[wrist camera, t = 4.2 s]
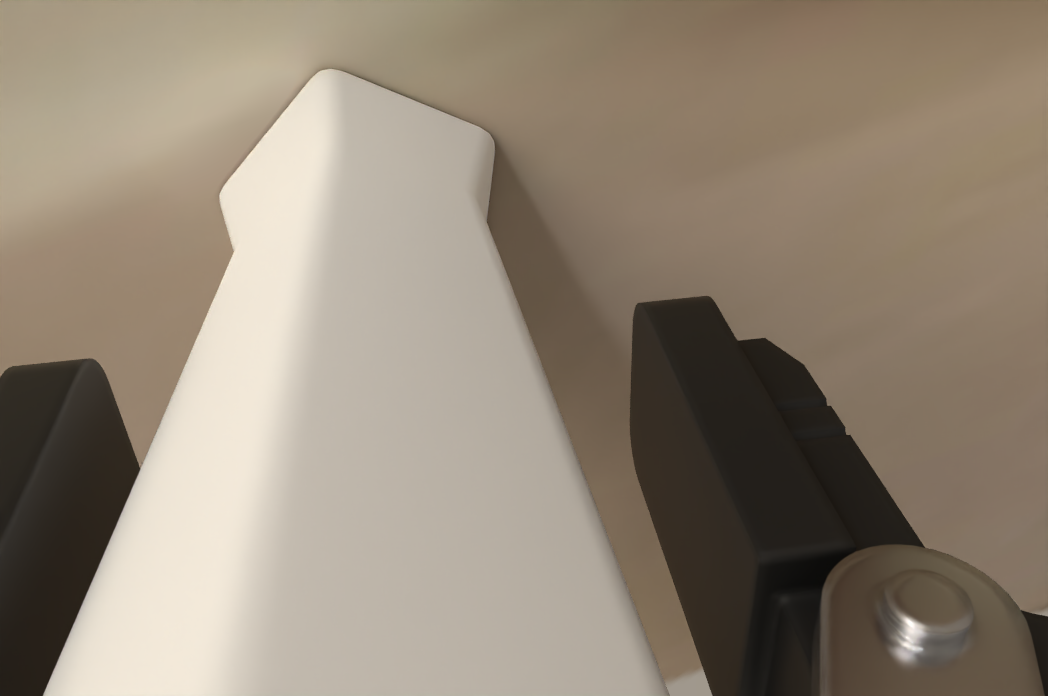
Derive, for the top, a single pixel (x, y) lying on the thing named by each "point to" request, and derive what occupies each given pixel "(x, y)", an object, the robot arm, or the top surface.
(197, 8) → the top surface
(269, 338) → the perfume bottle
